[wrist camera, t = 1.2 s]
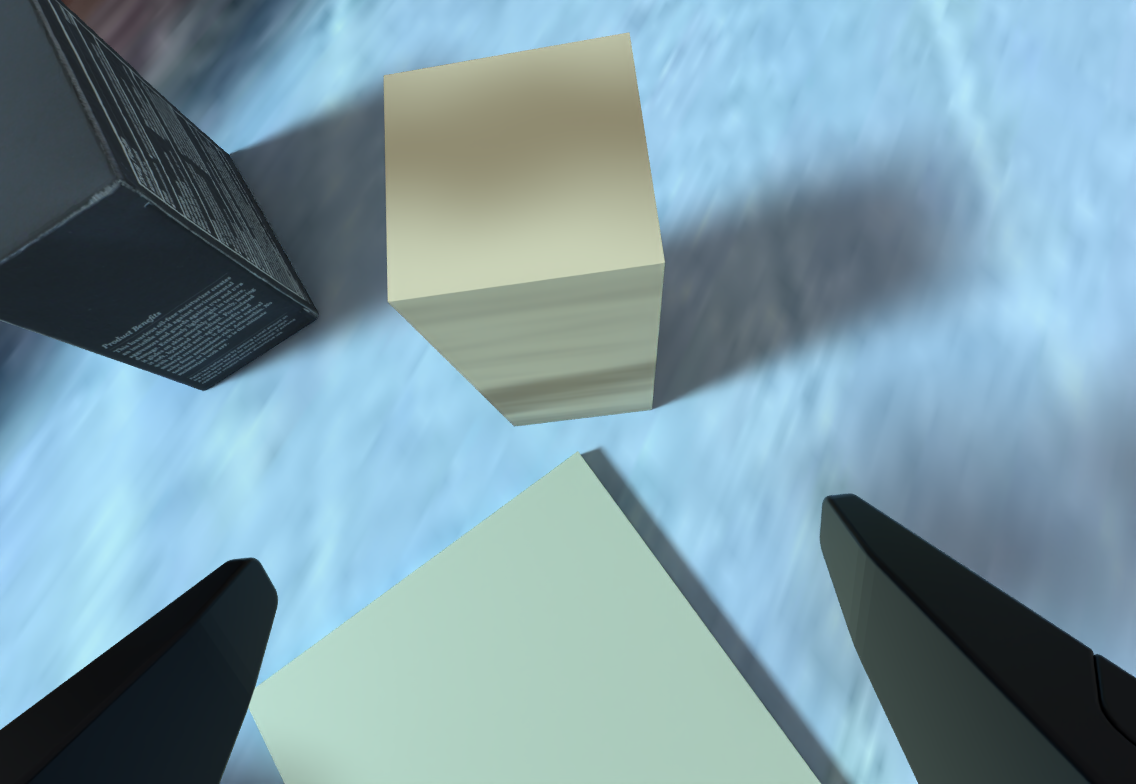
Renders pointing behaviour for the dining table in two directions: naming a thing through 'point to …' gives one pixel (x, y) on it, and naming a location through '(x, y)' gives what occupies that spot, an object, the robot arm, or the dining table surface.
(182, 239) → the small box
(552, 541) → the sage board
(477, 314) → the maple block
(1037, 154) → the dining table surface
